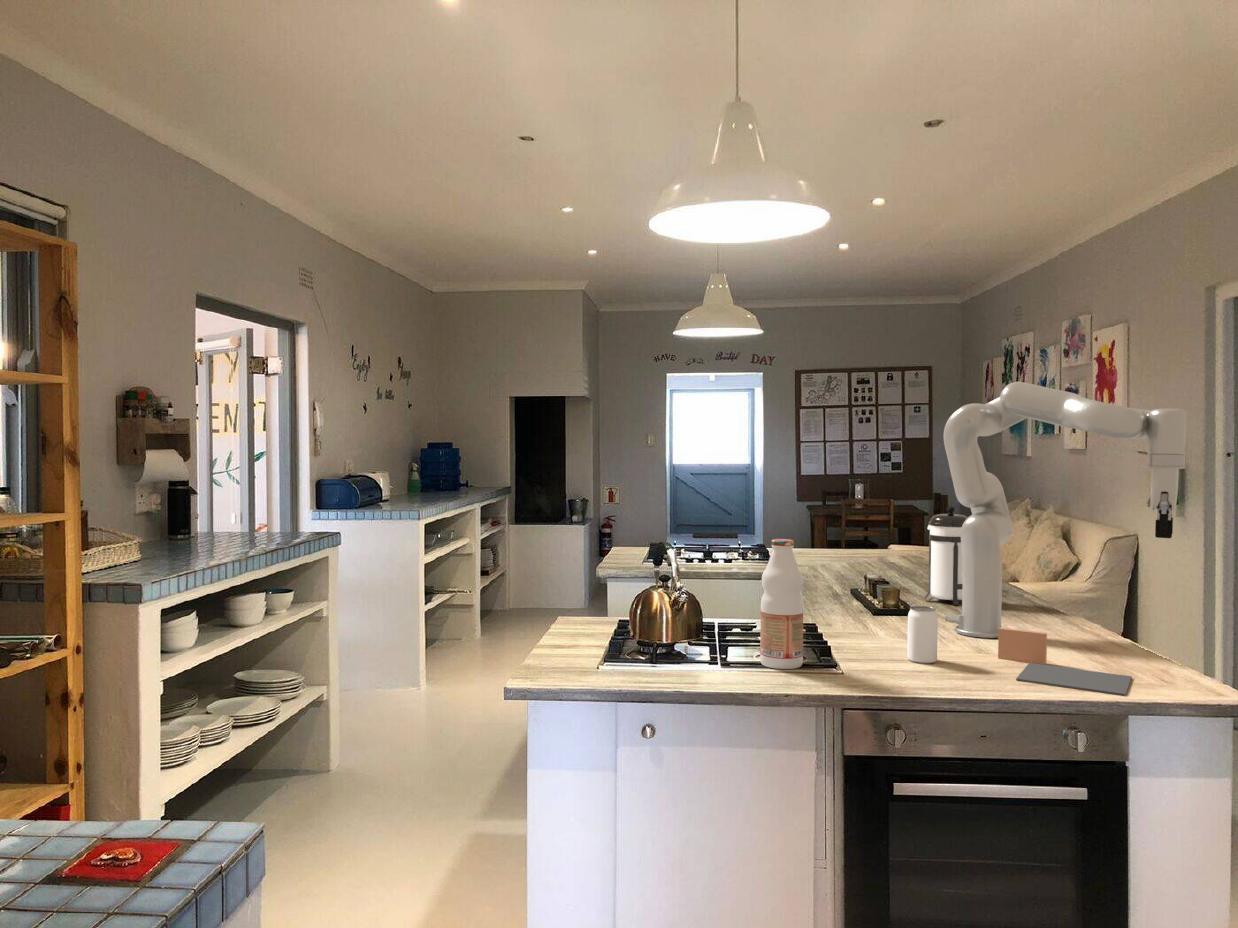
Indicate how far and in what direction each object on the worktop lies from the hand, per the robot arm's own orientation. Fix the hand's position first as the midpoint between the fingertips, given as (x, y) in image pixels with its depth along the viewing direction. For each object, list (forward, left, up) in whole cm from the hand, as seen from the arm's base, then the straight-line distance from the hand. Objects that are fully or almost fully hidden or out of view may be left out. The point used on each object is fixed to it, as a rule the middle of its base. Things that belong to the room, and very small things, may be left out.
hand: (1163, 535), depth 206 cm
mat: (-14, -32, -29) cm, 45 cm away
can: (-45, -34, -29) cm, 64 cm away
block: (-26, -21, -29) cm, 44 cm away
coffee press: (-57, +47, -29) cm, 79 cm away
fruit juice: (-70, -56, -29) cm, 94 cm away
